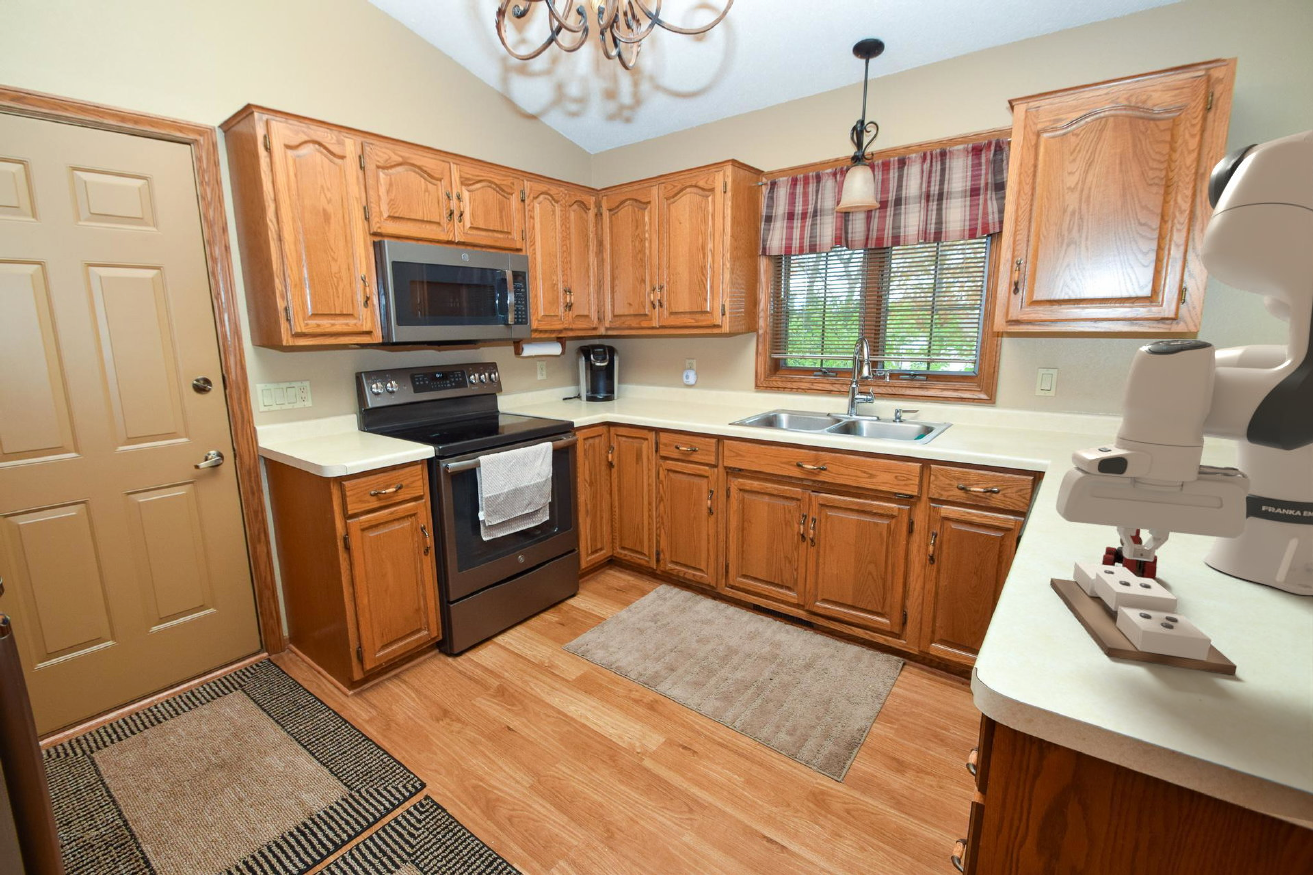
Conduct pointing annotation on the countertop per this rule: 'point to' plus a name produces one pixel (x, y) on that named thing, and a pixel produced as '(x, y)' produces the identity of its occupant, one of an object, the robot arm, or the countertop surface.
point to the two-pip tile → (1133, 593)
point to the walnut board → (1114, 641)
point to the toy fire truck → (1131, 560)
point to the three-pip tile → (1163, 633)
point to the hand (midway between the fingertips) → (1137, 558)
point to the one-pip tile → (1087, 575)
